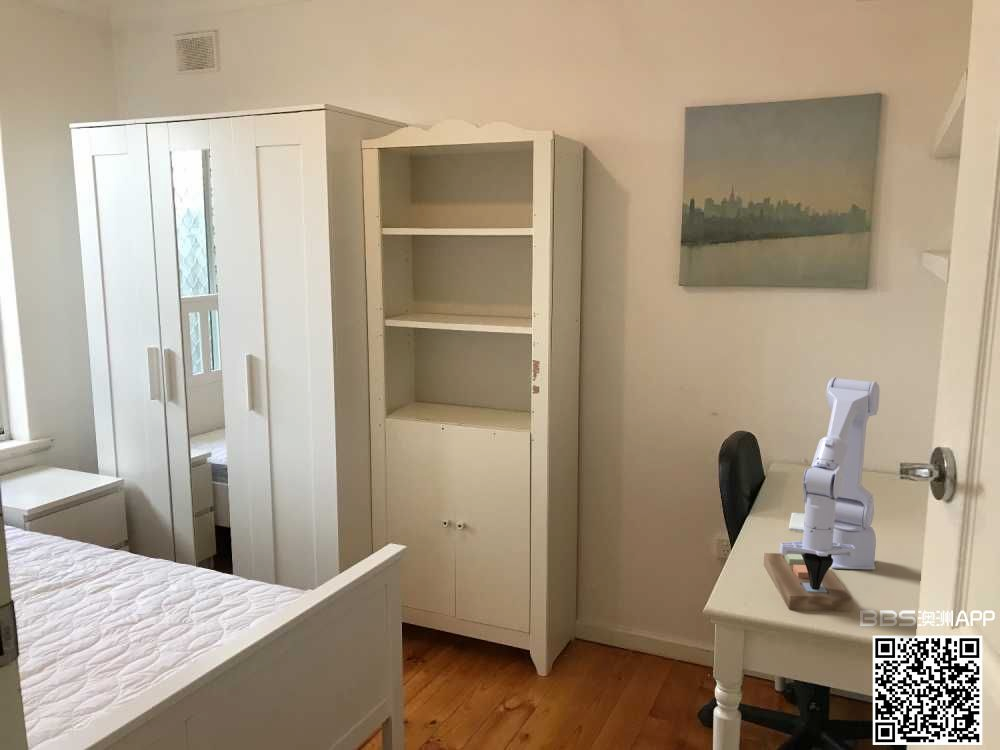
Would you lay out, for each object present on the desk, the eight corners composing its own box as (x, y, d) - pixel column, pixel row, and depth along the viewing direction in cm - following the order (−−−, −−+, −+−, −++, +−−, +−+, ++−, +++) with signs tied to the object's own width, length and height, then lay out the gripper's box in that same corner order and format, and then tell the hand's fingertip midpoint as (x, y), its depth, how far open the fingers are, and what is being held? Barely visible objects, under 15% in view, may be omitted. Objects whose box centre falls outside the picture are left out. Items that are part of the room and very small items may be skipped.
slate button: (820, 594, 170) (821, 583, 169) (826, 602, 166) (827, 591, 165) (801, 593, 170) (801, 582, 170) (806, 602, 166) (807, 591, 166)
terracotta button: (811, 575, 176) (812, 565, 176) (816, 583, 173) (817, 572, 172) (792, 574, 177) (793, 564, 176) (797, 582, 173) (798, 572, 172)
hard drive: (791, 512, 218) (788, 527, 207) (824, 515, 215) (823, 531, 204) (791, 517, 219) (788, 533, 207) (824, 521, 215) (822, 537, 204)
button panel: (817, 566, 185) (818, 554, 185) (850, 611, 164) (851, 597, 163) (763, 565, 186) (764, 553, 186) (789, 609, 165) (789, 595, 164)
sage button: (802, 562, 183) (803, 552, 183) (807, 569, 179) (808, 559, 179) (784, 562, 184) (784, 552, 183) (788, 569, 180) (789, 559, 179)
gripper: (787, 531, 162) (783, 594, 164) (862, 533, 161) (857, 597, 163) (778, 518, 169) (774, 580, 171) (850, 520, 168) (845, 582, 170)
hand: (814, 587), depth 168 cm, fingers closed, pressing on slate button
